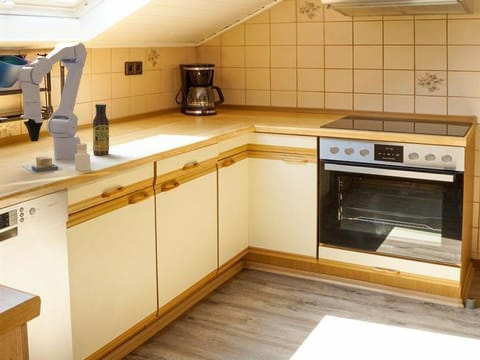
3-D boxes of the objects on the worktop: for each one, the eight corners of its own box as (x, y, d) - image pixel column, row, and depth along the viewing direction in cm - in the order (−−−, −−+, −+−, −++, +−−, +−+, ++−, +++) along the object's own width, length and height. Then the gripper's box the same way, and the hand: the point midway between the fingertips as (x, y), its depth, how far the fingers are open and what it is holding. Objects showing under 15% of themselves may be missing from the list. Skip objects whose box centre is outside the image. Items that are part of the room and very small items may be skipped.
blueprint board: (49, 165, 225) (49, 159, 225) (63, 172, 213) (63, 166, 213) (21, 168, 220) (21, 162, 219) (34, 175, 208) (33, 169, 207)
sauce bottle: (94, 156, 243) (92, 105, 239) (91, 153, 248) (89, 103, 244) (111, 155, 245) (109, 104, 241) (108, 152, 251) (106, 102, 247)
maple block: (48, 167, 217) (47, 156, 216) (52, 169, 213) (51, 158, 212) (36, 168, 215) (36, 157, 214) (40, 171, 211) (40, 159, 210)
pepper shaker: (81, 173, 212) (80, 145, 210) (74, 171, 214) (73, 144, 212) (91, 171, 215) (90, 144, 213) (84, 170, 217) (83, 142, 215)
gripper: (14, 101, 220) (17, 139, 223) (26, 104, 208) (29, 145, 211) (34, 100, 223) (36, 137, 226) (47, 103, 212) (49, 143, 215)
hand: (34, 141), depth 219 cm, fingers closed
